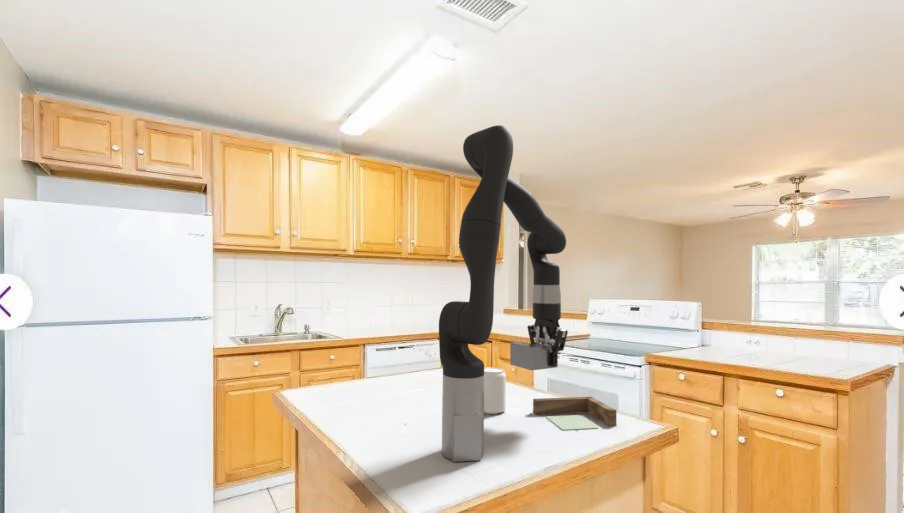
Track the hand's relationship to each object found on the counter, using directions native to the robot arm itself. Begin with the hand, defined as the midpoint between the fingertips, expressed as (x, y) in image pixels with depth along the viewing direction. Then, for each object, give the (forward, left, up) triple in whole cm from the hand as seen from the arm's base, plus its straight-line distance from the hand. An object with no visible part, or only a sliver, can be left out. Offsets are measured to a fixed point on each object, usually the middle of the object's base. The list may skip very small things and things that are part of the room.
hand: (546, 364), depth 120 cm
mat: (-1, -7, -16) cm, 17 cm away
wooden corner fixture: (+2, -9, -16) cm, 18 cm away
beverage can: (+13, +12, -16) cm, 24 cm away
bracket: (+2, +3, -1) cm, 4 cm away
